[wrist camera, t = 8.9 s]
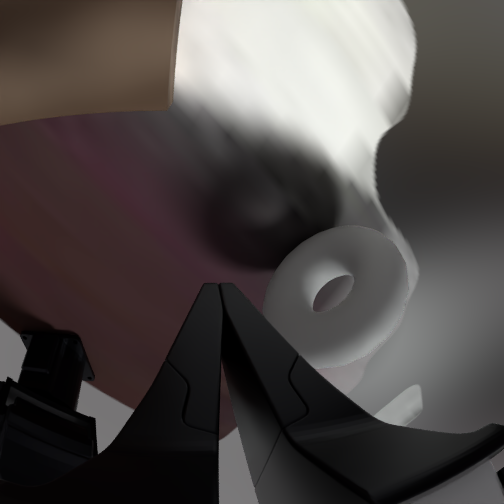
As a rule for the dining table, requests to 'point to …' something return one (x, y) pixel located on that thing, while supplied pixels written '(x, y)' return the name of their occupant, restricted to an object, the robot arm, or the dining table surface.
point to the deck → (86, 57)
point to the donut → (351, 308)
